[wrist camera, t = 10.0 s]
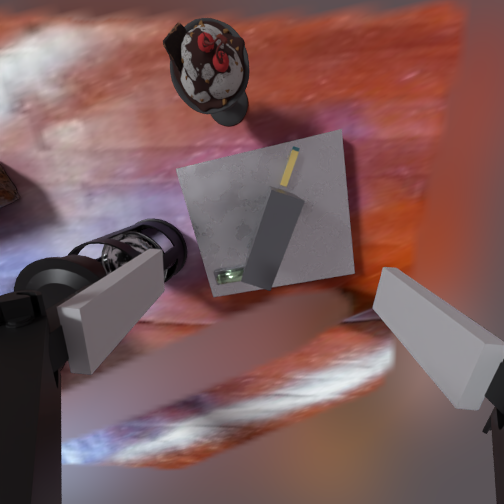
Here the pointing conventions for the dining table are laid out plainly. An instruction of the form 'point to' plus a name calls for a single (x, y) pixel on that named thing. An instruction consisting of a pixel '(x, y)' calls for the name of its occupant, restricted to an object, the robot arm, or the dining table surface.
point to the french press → (99, 261)
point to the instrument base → (251, 203)
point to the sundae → (210, 68)
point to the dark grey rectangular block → (272, 232)
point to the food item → (6, 189)
